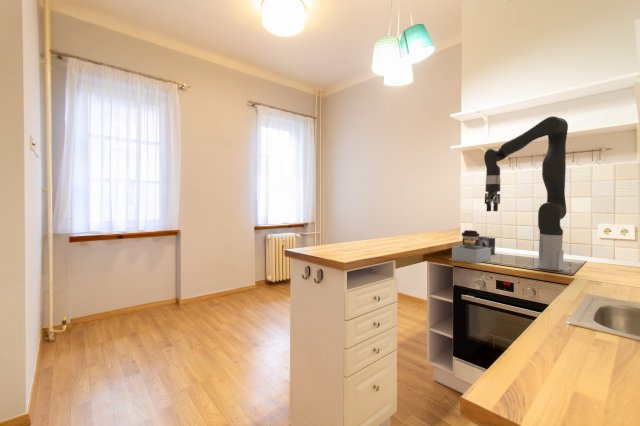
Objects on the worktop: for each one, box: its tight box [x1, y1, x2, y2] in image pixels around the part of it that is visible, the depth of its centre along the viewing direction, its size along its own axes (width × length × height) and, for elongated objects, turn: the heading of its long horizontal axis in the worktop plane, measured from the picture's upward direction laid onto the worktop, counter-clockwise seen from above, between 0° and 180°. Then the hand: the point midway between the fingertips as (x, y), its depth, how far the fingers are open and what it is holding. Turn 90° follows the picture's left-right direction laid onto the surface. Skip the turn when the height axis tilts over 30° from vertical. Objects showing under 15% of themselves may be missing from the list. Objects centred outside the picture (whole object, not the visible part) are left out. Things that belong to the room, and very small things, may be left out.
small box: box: [478, 235, 496, 256], centre depth 193 cm, size 11×6×10 cm, turn 25°
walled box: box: [451, 244, 492, 264], centre depth 171 cm, size 14×16×7 cm
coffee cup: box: [461, 229, 480, 246], centre depth 188 cm, size 10×10×15 cm
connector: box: [464, 240, 476, 250], centre depth 172 cm, size 4×4×10 cm
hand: (492, 211), depth 176 cm, fingers open, 8 cm apart
